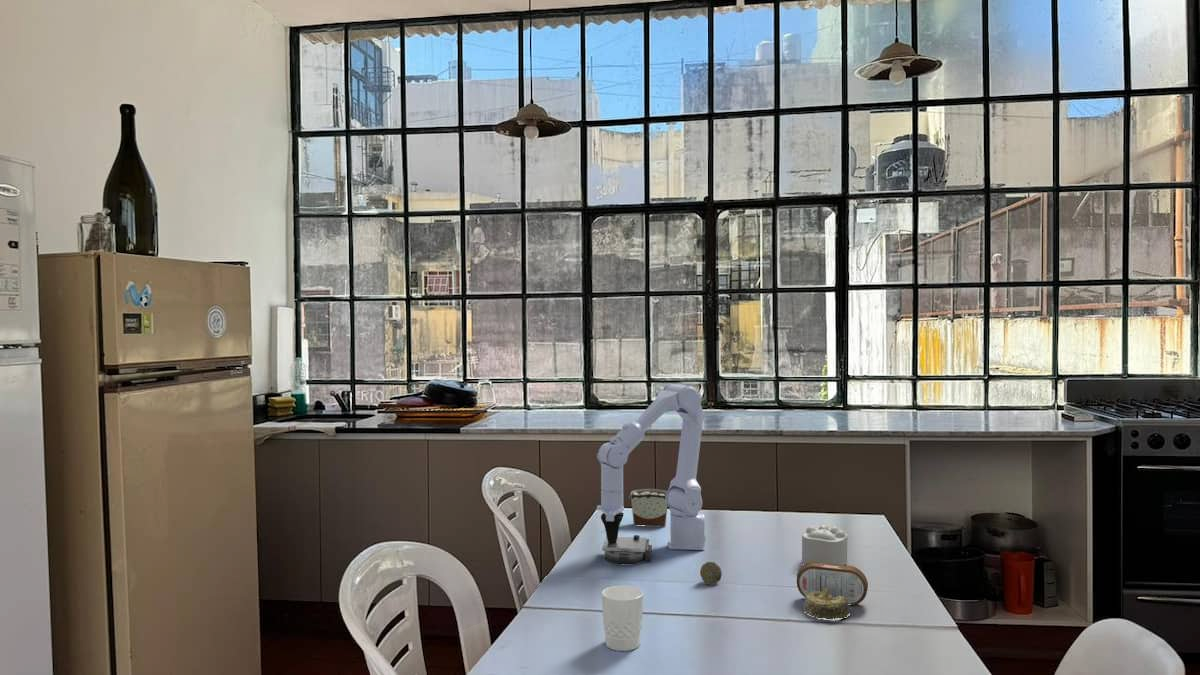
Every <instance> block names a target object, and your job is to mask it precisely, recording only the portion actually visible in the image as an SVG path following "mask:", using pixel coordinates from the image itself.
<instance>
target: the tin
mask: <svg viewBox="0 0 1200 675" xmlns="http://www.w3.org/2000/svg"><path fill="white" fill-rule="evenodd" d="M796 574H797V575H796V587H797V590H798V591H799V593H800V595H802V596H803V597H804V598H805V595H807V593H808V592H809V593H810V592H811V591H814V592H815V591H820V592H823V591H825V590H823V589H827V592H828V593H829V595H830V596H832V597H833V598H835V597H838V596H844V597H845V598H846V600H847V602H848V604H851V605H853V606H857V605H859V604H860V603H862V602H863V601H864V600H865V598H866V596H867V594H868V589H869V583H868V580H867V577H866V575H865V573H864V572H862V571H861V570H860V568H858V567H855V566H852V565H839V564H830V563H821V562H809V563H806V564H804V565H803V564H802V566H801V567H800V568H799V569H798V571H797V573H796ZM825 592H826V591H825Z"/></svg>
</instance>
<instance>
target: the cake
mask: <svg viewBox="0 0 1200 675" xmlns="http://www.w3.org/2000/svg"><path fill="white" fill-rule="evenodd" d="M823 590H825V591H826V592H825V591H823V592H820V591H815V592H814V591H811V592H810V593H809V592H808V593H807V595H805V597H804V598H803V599H804V606H803V609H802V611H803V610H804V611H803V613H804V612H806V614H809V615H811V616H814V617H817V618H826V619H833V618H834V619H835V618H844V617H847V615H848V614H849V613H850V614H851V611H850V609H849V606H848V602H847V600H846V598H845V597H844V596H838V597H835V598H833V597H832V596H830V595H829V593H828V592H827V589H823ZM806 614H805V615H806Z"/></svg>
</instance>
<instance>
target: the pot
mask: <svg viewBox="0 0 1200 675" xmlns="http://www.w3.org/2000/svg"><path fill="white" fill-rule="evenodd" d="M652 558H653V545H652V544H649V549H648V551H646V550H645V552H627V551H604V560H605V561H606V562H608V563H611V564H615V565H621V564H632V565H639V564H641V563H644V562H646V563H648V562H649V563H651V562H652ZM638 563H639V564H638Z"/></svg>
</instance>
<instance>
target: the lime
mask: <svg viewBox="0 0 1200 675" xmlns="http://www.w3.org/2000/svg"><path fill="white" fill-rule="evenodd" d="M699 572H700V573H699V574H700V577H701V579H702V581H703V582H704V583H705V584H706V585H708V586H712V585H717V583H719V582H720V581H721V579H722V575H723V574H722V568H721V567H720V566H719V565H718V564H717V563H715V562H714V561H706V562H705V563H704V564H702V566H701V568H700V571H699Z"/></svg>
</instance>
